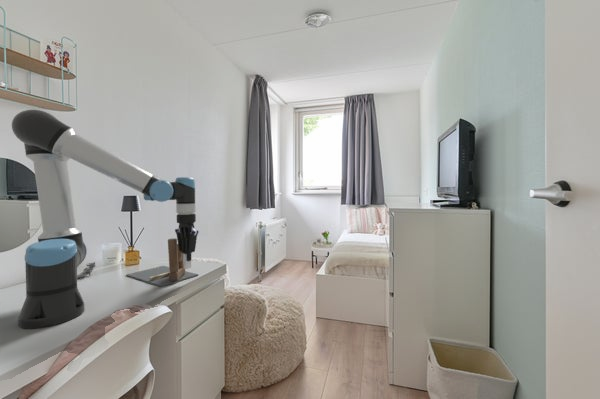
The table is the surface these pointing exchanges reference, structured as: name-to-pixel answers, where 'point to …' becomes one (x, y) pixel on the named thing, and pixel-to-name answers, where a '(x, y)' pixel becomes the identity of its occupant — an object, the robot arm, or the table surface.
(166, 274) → the kerb
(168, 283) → the mat
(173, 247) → the brown wooden bracket
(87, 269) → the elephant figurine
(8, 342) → the table surface
